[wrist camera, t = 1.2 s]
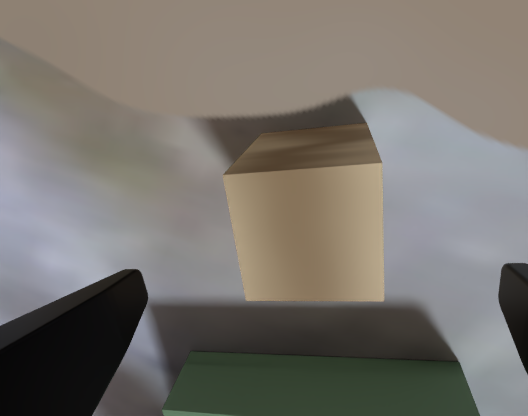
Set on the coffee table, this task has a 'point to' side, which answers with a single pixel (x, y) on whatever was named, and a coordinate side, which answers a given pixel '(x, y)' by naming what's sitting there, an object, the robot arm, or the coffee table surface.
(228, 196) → the beech block
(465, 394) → the green bin
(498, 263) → the coffee table surface
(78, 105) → the coffee table surface
